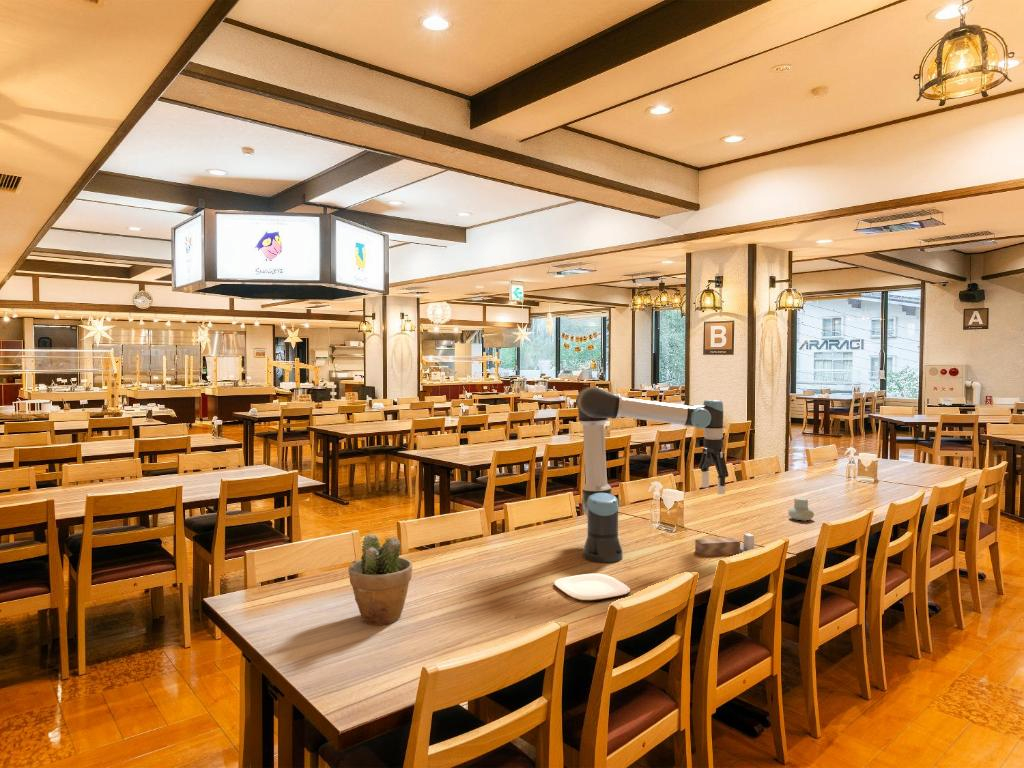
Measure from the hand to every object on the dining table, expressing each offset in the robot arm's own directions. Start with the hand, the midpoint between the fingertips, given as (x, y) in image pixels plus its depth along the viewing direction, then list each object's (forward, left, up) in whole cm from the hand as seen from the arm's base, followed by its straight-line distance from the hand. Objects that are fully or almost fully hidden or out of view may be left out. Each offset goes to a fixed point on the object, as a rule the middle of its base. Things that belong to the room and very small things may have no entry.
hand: (713, 490), depth 254 cm
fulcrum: (+11, -8, -23) cm, 27 cm away
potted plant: (-128, -54, -23) cm, 141 cm away
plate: (-61, -40, -23) cm, 77 cm away
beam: (-2, -8, -23) cm, 25 cm away
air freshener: (+60, +35, -23) cm, 73 cm away
